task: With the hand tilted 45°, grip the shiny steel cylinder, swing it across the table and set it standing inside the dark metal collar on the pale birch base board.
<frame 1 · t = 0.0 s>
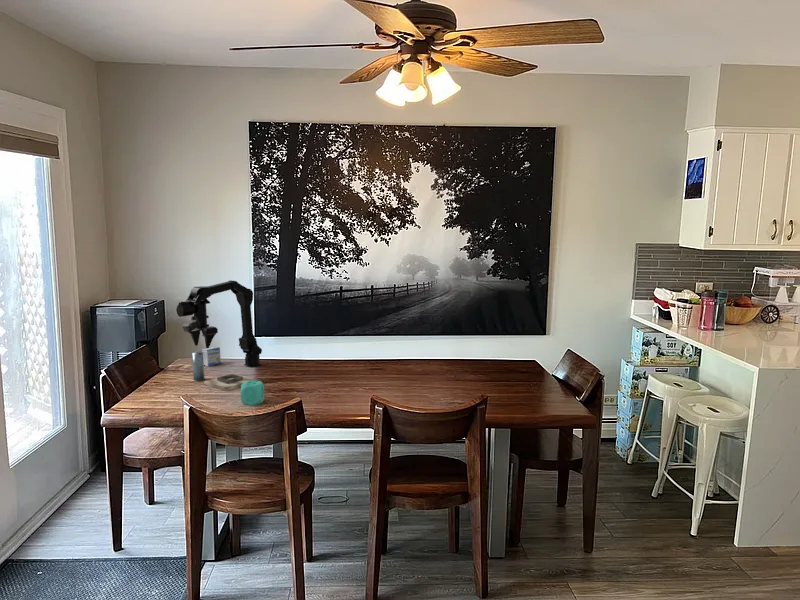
hand: (201, 346, 279), 15 cm above the table, tool pointing down, fingers open, 9 cm apart
collar base: (230, 383, 270), on the table
decorative dice: (253, 402, 244), on the table
medicine box: (211, 365, 305), on the table
shiny steel cylinder: (199, 379, 277), on the table
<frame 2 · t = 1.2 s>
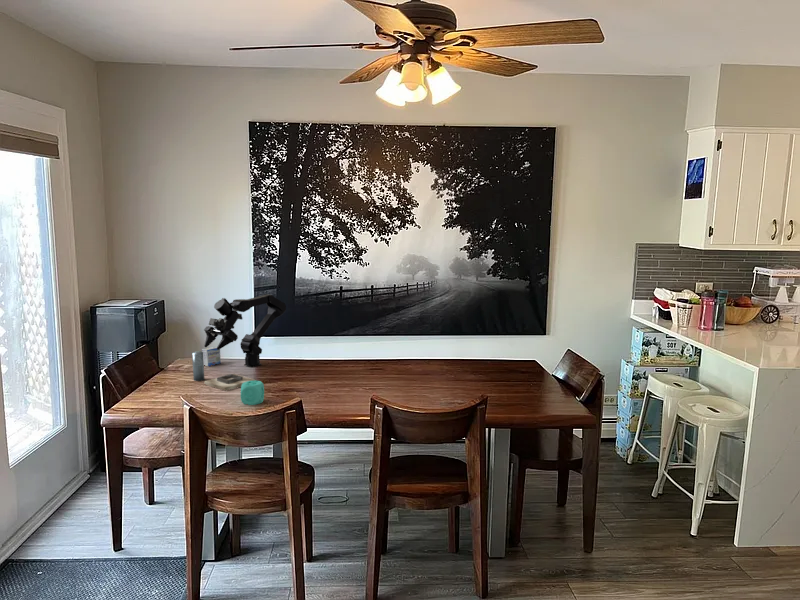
hand: (211, 348, 281), 14 cm above the table, tool tilted 45°, fingers open, 9 cm apart
nothing on the table moved.
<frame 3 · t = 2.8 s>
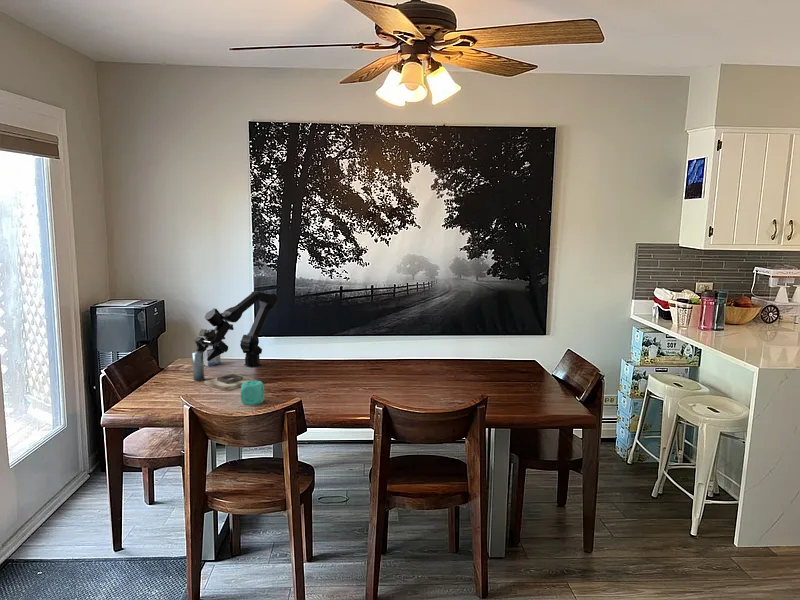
hand: (201, 359, 277), 9 cm above the table, tool tilted 45°, fingers open, 9 cm apart
nothing on the table moved.
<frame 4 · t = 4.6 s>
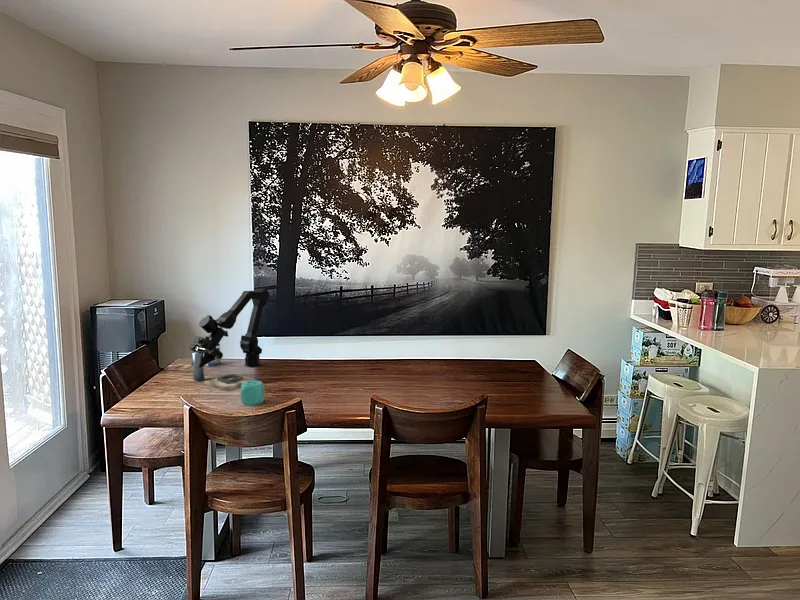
hand: (195, 366, 275), 7 cm above the table, tool tilted 45°, fingers closed on shiny steel cylinder, 5 cm apart
shiny steel cylinder: (199, 379, 277), on the table, touching gripper
everything else where it was.
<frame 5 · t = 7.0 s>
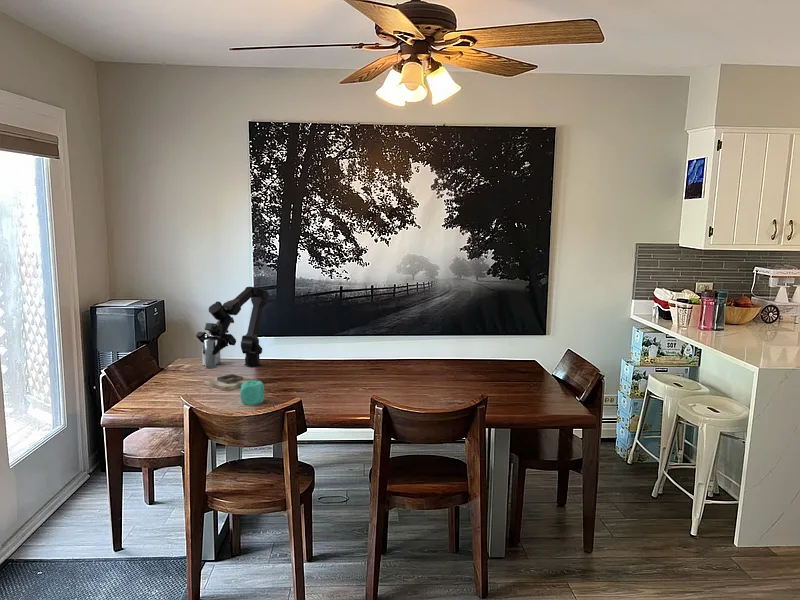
hand: (208, 354, 269), 13 cm above the table, tool tilted 45°, fingers closed on shiny steel cylinder, 5 cm apart
shiny steel cylinder: (211, 367, 272), point 7 cm above the table, touching gripper
everything else where it was.
when the fingers open (9 cm above the table, at t = 9.7 s): shiny steel cylinder stays where it is, resting on collar base.
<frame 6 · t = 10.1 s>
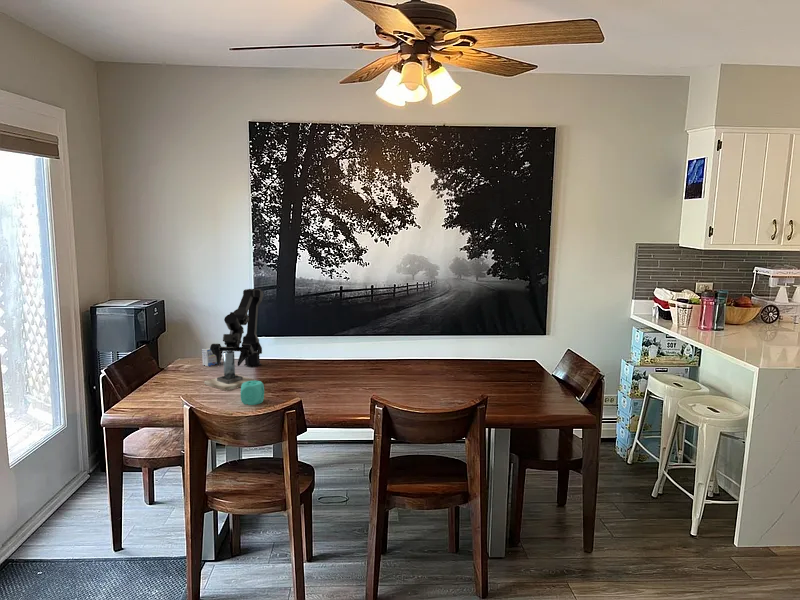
hand: (228, 365, 268), 9 cm above the table, tool tilted 45°, fingers open, 9 cm apart
shiny steel cylinder: (229, 380, 270), point 1 cm above the table, touching collar base
everything else where it was.
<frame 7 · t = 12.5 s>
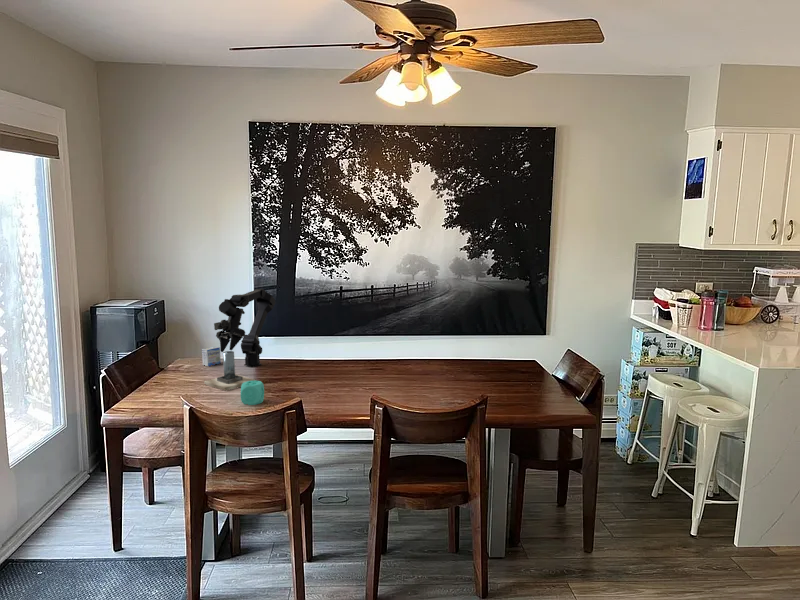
hand: (226, 351, 281), 12 cm above the table, tool tilted 30°, fingers open, 9 cm apart
nothing on the table moved.
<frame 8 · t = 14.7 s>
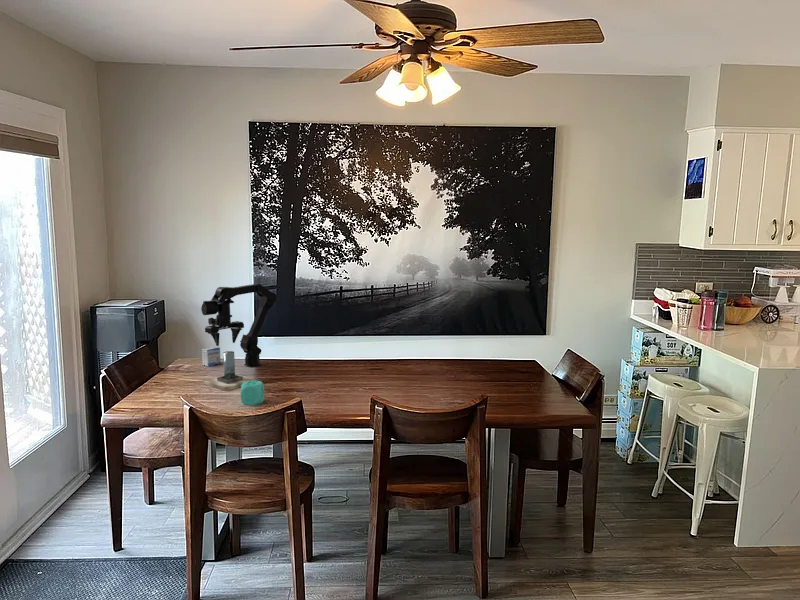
hand: (225, 344, 291), 13 cm above the table, tool pointing down, fingers open, 9 cm apart
nothing on the table moved.
at the end: shiny steel cylinder 0.0 cm off-centre on the collar base, point 1.5 cm above the collar base's base; shiny steel cylinder tilted 0°; the gripper is holding nothing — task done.
